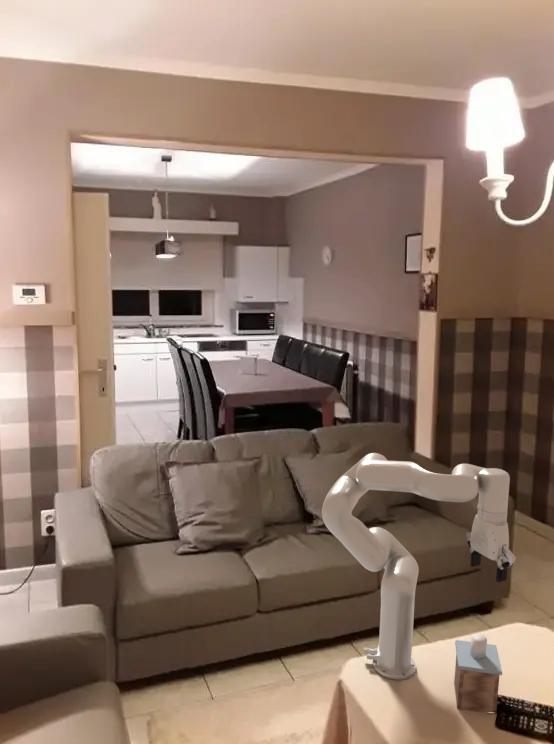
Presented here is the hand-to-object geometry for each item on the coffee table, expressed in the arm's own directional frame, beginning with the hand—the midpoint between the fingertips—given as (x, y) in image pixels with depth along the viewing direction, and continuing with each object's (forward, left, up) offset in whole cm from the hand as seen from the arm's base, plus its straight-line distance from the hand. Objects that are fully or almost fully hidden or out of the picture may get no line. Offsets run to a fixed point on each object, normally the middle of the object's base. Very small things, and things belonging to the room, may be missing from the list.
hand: (487, 573), depth 176 cm
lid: (-2, -6, -22) cm, 23 cm away
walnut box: (-2, -6, -34) cm, 35 cm away
